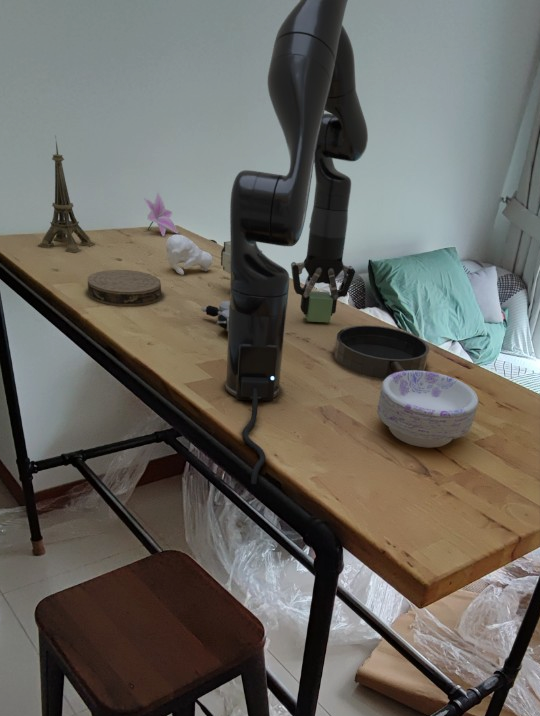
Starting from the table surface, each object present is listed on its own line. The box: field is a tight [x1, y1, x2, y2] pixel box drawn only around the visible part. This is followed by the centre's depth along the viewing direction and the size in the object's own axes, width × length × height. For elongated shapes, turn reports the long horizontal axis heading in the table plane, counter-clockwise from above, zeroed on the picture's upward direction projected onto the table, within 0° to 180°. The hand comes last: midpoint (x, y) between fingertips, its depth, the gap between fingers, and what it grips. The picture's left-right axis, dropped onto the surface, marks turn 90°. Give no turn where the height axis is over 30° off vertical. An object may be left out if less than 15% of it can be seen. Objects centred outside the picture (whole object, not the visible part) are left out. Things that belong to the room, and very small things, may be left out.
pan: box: [333, 324, 430, 380], centre depth 127 cm, size 18×18×4 cm
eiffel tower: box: [37, 134, 96, 254], centre depth 164 cm, size 11×11×25 cm
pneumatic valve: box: [220, 240, 263, 275], centre depth 149 cm, size 6×12×12 cm, turn 36°
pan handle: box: [390, 361, 405, 373], centre depth 117 cm, size 9×2×2 cm, turn 9°
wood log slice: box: [87, 269, 162, 307], centre depth 144 cm, size 16×16×3 cm
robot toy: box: [200, 300, 230, 332], centre depth 134 cm, size 12×4×15 cm
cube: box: [304, 290, 333, 323], centre depth 141 cm, size 5×5×5 cm
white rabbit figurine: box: [165, 234, 213, 276], centre depth 162 cm, size 6×8×12 cm
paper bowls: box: [376, 370, 479, 449], centre depth 103 cm, size 15×15×8 cm
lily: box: [143, 191, 179, 237], centre depth 190 cm, size 12×12×10 cm
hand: (317, 313), depth 142 cm, fingers closed on cube, 5 cm apart
